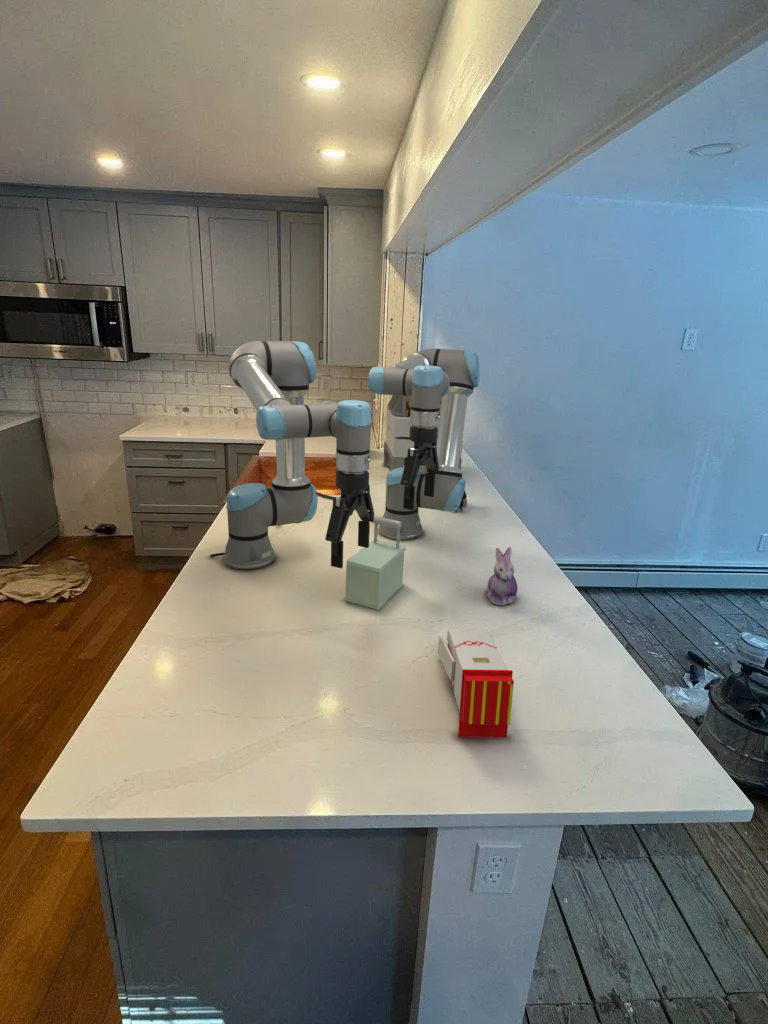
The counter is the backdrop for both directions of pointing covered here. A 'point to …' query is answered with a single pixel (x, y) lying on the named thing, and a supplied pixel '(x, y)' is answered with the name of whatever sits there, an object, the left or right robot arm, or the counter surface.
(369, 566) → the lid
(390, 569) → the chest
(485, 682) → the toy
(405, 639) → the counter surface
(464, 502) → the figurine character
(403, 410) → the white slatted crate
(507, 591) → the figurine
